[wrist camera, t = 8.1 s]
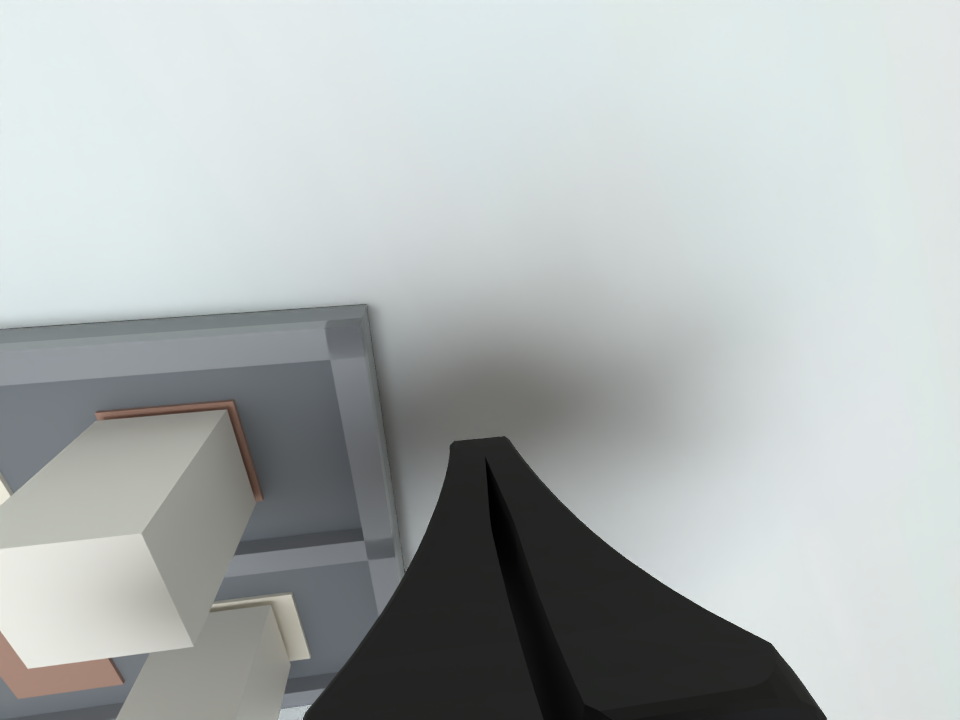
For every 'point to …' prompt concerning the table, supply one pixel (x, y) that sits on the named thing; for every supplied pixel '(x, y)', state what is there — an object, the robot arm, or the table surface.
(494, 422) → the table surface
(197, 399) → the grey sorting tray
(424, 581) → the robot arm
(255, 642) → the tab
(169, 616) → the tab
